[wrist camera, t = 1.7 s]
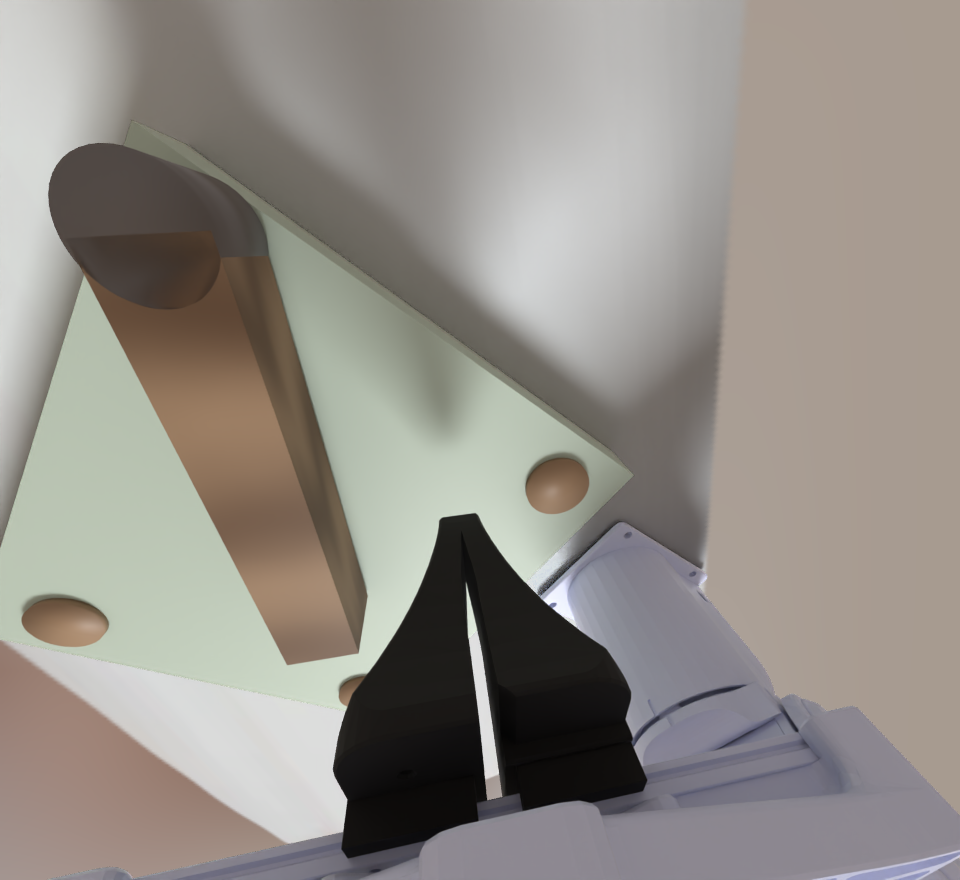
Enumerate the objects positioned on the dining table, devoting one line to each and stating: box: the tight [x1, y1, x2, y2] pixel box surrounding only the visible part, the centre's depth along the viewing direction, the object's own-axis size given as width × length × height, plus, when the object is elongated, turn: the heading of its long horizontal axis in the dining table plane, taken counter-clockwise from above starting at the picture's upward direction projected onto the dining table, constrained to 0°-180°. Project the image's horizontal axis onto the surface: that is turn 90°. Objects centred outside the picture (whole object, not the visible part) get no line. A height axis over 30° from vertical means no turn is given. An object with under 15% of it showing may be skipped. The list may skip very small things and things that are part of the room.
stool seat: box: [0, 120, 634, 711], centre depth 18 cm, size 21×23×3 cm
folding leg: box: [48, 143, 368, 665], centre depth 13 cm, size 18×3×3 cm, turn 3°
